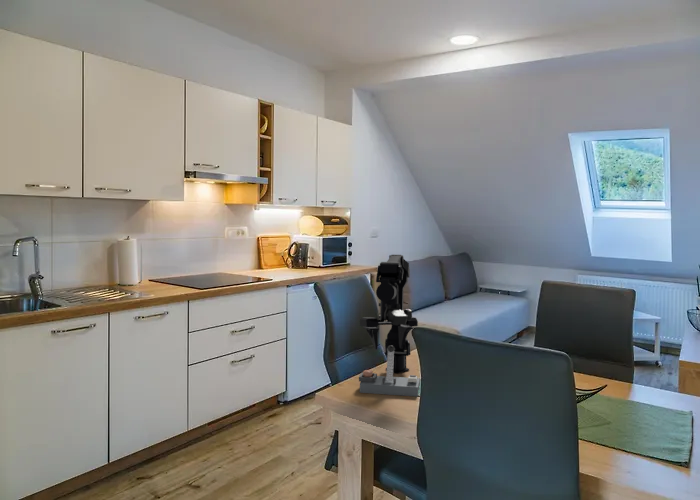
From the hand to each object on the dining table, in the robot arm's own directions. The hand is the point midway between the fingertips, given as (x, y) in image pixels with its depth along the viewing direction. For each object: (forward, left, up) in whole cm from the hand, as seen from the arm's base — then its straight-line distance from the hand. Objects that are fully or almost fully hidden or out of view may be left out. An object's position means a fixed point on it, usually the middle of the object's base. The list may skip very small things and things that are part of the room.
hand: (388, 348), depth 166 cm
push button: (+2, -8, -11) cm, 14 cm away
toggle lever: (-2, -1, -12) cm, 12 cm away
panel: (-3, -3, -15) cm, 16 cm away
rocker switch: (-8, +3, -12) cm, 15 cm away
